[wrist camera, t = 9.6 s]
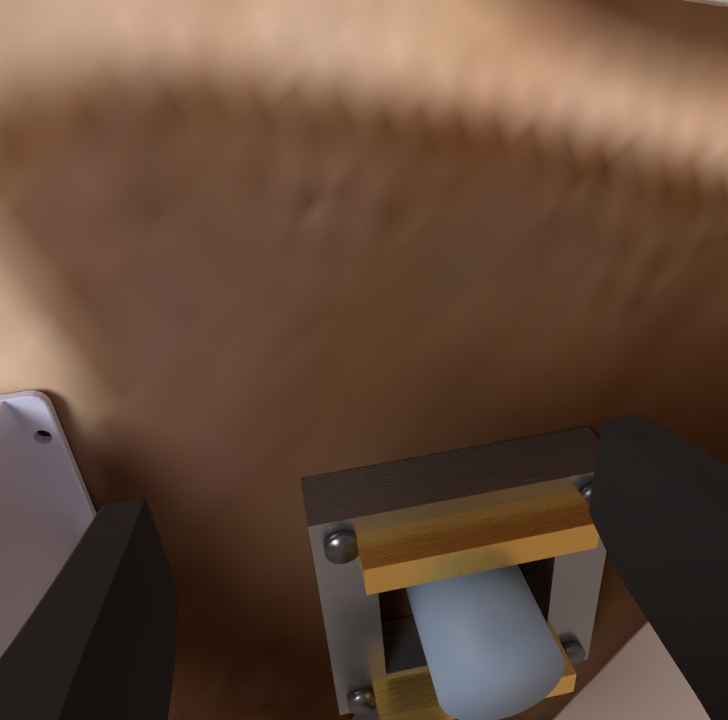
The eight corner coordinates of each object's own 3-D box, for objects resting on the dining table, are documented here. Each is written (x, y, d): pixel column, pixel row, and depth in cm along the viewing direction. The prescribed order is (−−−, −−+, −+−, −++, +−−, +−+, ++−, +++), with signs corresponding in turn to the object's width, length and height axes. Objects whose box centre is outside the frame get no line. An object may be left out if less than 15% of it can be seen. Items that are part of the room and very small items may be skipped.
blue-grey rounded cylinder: (392, 520, 25) (435, 656, 20) (501, 497, 26) (568, 625, 20) (401, 594, 27) (440, 733, 22) (500, 572, 28) (560, 704, 23)
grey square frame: (300, 478, 23) (313, 564, 20) (588, 426, 24) (646, 498, 21) (331, 663, 29) (346, 754, 26) (563, 612, 30) (605, 693, 27)
